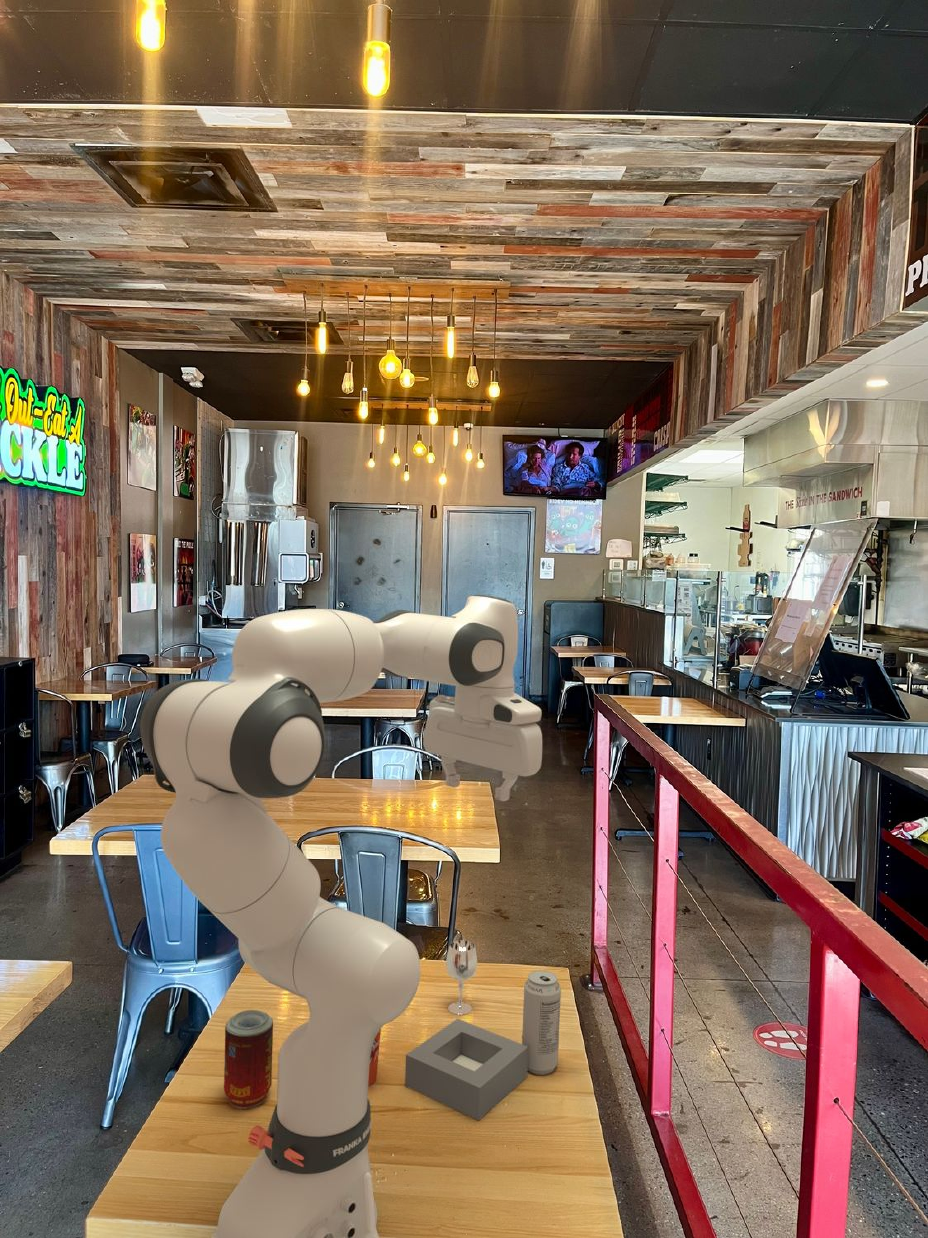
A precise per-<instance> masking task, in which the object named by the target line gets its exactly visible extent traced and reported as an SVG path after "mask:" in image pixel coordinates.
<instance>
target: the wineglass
mask: <svg viewBox="0 0 928 1238" xmlns="http://www.w3.org/2000/svg"><path fill="white" fill-rule="evenodd" d="M445 964H446V965H445V966H446V968H445V969H446V972H447V974H448V975H449V976H450V978H452V979H454V980H456V981H458V983H457V987H458V991H459V993H458V1001H457V1002H452V1003H450V1004H449V1005H448V1007H447V1010H448V1011H449V1012H450V1013H451V1014H453V1015H458V1016H459V1015H460V1016H461V1015H462V1016H463V1015H467V1014H470V1013H471V1012H473V1007H472V1005H470V1003H466V1002H463V999H462V998H463V997H462V995H463V989H464V981H467V980H470V979H471V978H473V976H474V975H475V974H476V971H477V968H478V957H477V951H476V945H475V943H473V942H471V941H469V940H463V939H458V940H454V941H451V942H450V944H449V946H448V949H447V954H446V961H445Z"/></svg>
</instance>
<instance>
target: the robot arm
mask: <svg viewBox="0 0 928 1238" xmlns="http://www.w3.org/2000/svg"><path fill="white" fill-rule="evenodd" d="M518 638H519V622H518V612H517V609H516V606H515V604H513V602H511V600H510V601H509V600H507V599H505V598H501V597H497V596H493V595H487V594H485V595H484V594H474V595H470V596H468V597H467V600H466V601H465V606H464V608H463V609H461V610H460V611H459V612H457V613H455V614H452V615H451V616H444V615H434V614H427V613H419V612H416V611H411V610H407V609H406V610H405V609H397V610H394V611H391V612H389V613H386V614H385V615H384V616H382V617H380V618H379V619H376V620H374V621H372V619H370V618H368V617H366V616H364V615H361V614H358V613H354V612H351V611H345V610H338V609H330V608H329V609H328V608H305V609H304V608H303V609H290V610H285V611H279V612H274V613H270V614H266V615H265V614H264V615H262V616H258V617H255V618H253V619H252V620H250V621H249V622H248V623H246V624H245V625H244V626H243V627H242V628H241V629H240V630H239V632H238V634H237V636H236V638H235V641H234V643H233V647H232V654H231V658H232V659H231V661H232V662H231V663H232V668H233V669H232V672H231V674H230V675H229V676H228V677H227V680H228V681H218V680H216V681H215V680H213V681H212V680H211V681H210V680H207V679H202V678H189V679H181V680H177V681H175V682H171V683H169V684H166V685H164V686H162V687H161V688H159V689H158V690H156V691H155V692H154V694H152V695H151V697H150V698H149V700H148V701H147V703H146V704H145V706H144V708H143V710H142V714H141V718H140V726H139V728H140V739H141V743H142V746H143V749H144V752H145V754H146V756H147V758H148V759H149V761H150V763H151V765H152V767H153V768H152V769H153V775H154V778H155V781H156V783H157V785H158V786H159V787H160V788H162V789H163V790H165V791H167V792H170V793H174V794H175V800H174V801H173V804H172V805H171V807H170V808H169V809H168V811H167V812H166V814H165V816H164V818H163V820H162V824H161V829H160V842H161V843H160V844H161V847H162V850H163V853H164V855H165V856H166V858H167V860H168V861H169V863H170V865H171V866H172V869H174V870H175V872H176V874H177V875H178V877H179V878H180V879H181V880H182V882H183V883H184V885H185V886H186V887H187V889H188V890H189V891H190V892H191V893H192V894H193V896H195V898H196V900H197V899H198V901H199V902H200V903H201V904H202V905H203V906H204V907H205V908H206V909H207V910H208V911H209V912H210V913H211V914H213V916H215V918H217V920H219V921H220V922H221V923H222V924H223V925H224V926H225V927H226V928H227V929H228V930H229V931H230V932H231V933H232V934H233V935H235V937H236V938H237V939H238V944H237V945H238V950H239V954H240V957H241V959H242V960H243V962H244V963H245V964H246V965H248V967H249V968H251V969H252V971H254V972H255V973H256V974H258V975H259V976H260V977H261V978H262V979H264V980H265V981H266V982H268V983H269V984H271V985H274V986H275V987H277V988H280V989H282V990H284V991H286V992H289V993H291V994H293V995H295V996H297V997H300V998H303V999H304V1000H306V1002H307V1005H308V1009H309V1018H308V1021H307V1022H304V1023H302V1024H301V1025H299V1026H297V1027H296V1028H295V1029H294V1030H292V1031H291V1032H290V1034H288V1036H287V1037H286V1039H284V1041H283V1043H282V1045H281V1047H280V1049H279V1052H278V1056H277V1057H278V1058H277V1089H276V1095H277V1096H276V1104H275V1105H274V1109H273V1113H272V1115H271V1119H270V1122H269V1125H268V1127H267V1128H268V1129H267V1130H265V1129H264V1128H263V1127H262V1126H261V1125H255V1126H253V1127H252V1128H251V1130H250V1132H249V1133H248V1137H247V1140H248V1143H249V1144H250V1145H251V1146H256V1147H257V1149H259V1150H261V1151H260V1152H259V1154H258V1155H257V1156H256V1158H255V1159H254V1161H253V1162H252V1164H251V1165H250V1167H249V1168H248V1170H247V1171H246V1172H245V1173H244V1175H243V1177H242V1178H241V1179H240V1181H239V1182H238V1183H237V1185H236V1187H235V1188H234V1190H232V1192H231V1194H230V1195H229V1197H228V1198H227V1199H226V1200H225V1202H224V1203H223V1205H222V1207H221V1209H220V1213H219V1217H218V1222H217V1227H216V1231H215V1232H214V1233H213V1234H212V1235H211V1236H210V1237H209V1238H380V1236H379V1232H378V1230H377V1223H378V1207H377V1203H376V1201H375V1197H374V1190H373V1177H372V1169H371V1162H370V1156H369V1154H370V1153H369V1146H368V1145H369V1140H370V1138H371V1129H372V1121H373V1120H372V1117H371V1115H372V1114H371V1112H372V1111H371V1110H372V1109H371V1108H372V1107H371V1103H370V1102H371V1101H370V1100H369V1087H368V1081H369V1066H370V1055H371V1050H372V1046H373V1042H374V1040H375V1037H376V1035H377V1033H378V1032H379V1030H380V1029H381V1030H382V1028H383V1027H384V1026H385V1025H387V1024H388V1023H390V1022H392V1021H394V1020H396V1019H397V1018H398V1017H401V1015H402V1014H403V1013H404V1012H405V1011H406V1010H407V1009H408V1007H409V1006H410V1005H411V1004H412V1001H413V1000H414V998H415V995H416V994H417V992H418V987H419V985H420V979H421V961H420V956H419V951H418V950H417V947H416V946H415V944H414V943H413V942H412V941H411V940H409V939H408V938H406V937H405V936H404V935H403V934H401V933H399V931H397V930H395V929H393V928H392V927H390V926H389V925H387V924H386V923H384V922H382V921H380V920H379V921H378V920H377V919H372V918H370V917H367V916H365V915H361V914H359V913H356V912H353V911H351V910H347V909H345V908H342V907H340V906H338V905H335V904H334V903H332V902H330V901H327V900H325V898H322V897H321V896H320V893H321V878H320V874H319V872H318V870H317V868H316V867H315V865H314V864H313V863H312V862H311V861H310V860H309V859H308V858H307V856H306V855H305V854H304V853H303V851H302V850H301V849H300V848H299V847H298V846H297V845H296V843H295V842H294V841H293V840H292V839H291V838H290V837H289V835H288V834H287V833H286V831H284V830H283V828H281V827H280V825H279V824H278V823H277V822H276V821H275V820H274V819H273V818H272V817H271V816H270V815H269V814H267V813H268V810H267V809H266V807H265V804H264V801H263V799H281V798H287V797H291V796H294V795H297V794H299V793H300V792H302V791H304V789H305V788H307V787H308V786H309V785H310V783H311V782H312V781H313V779H315V776H316V774H317V772H318V771H319V769H320V766H321V764H322V761H323V758H324V753H325V741H326V739H325V737H326V736H325V725H324V719H323V710H322V706H321V704H324V703H331V702H332V703H334V702H340V701H346V700H349V699H352V698H355V697H358V696H361V695H364V694H366V693H367V692H369V691H370V690H372V688H373V687H374V686H375V684H376V683H377V682H378V679H379V678H380V675H381V673H382V672H383V673H384V674H385V675H387V676H391V677H397V678H403V679H404V678H405V679H414V680H419V681H426V682H432V683H436V684H441V685H448V686H452V687H453V686H455V691H454V692H455V693H454V694H455V695H454V696H447V695H445V694H438V695H437V696H435V697H433V699H432V700H430V702H429V706H428V707H429V709H428V715H427V719H426V723H425V727H424V735H423V742H422V745H423V747H424V750H425V751H426V752H427V753H429V754H433V755H437V756H440V758H441V759H440V764H441V767H442V769H443V772H444V774H445V786H447V787H451V788H457V787H459V786H460V783H461V782H460V780H461V774H458V773H457V770H456V768H455V764H454V763H457V761H459V762H460V761H461V762H465V763H469V764H472V765H476V766H479V767H480V766H481V767H485V768H488V769H492V770H497V771H499V772H502V774H501V775H502V776H501V778H502V779H504V781H503V782H502V784H501V786H499V787H495V790H494V793H495V794H494V799H495V800H497V801H501V802H506V801H509V800H510V793H511V789H512V787H513V786H514V784H515V783H516V781H517V780H518V777H519V776H520V777H531V776H534V775H535V774H537V772H539V770H540V769H541V768H542V761H543V733H542V729H541V727H540V726H539V725H538V724H537V722H539V721H541V719H542V715H543V714H542V709H541V708H540V707H539V706H538V705H536V704H534V703H532V702H530V701H528V699H526V698H524V697H522V696H520V694H518V693H516V692H515V679H514V666H515V663H516V660H517V657H518V646H519V645H518V643H519V639H518ZM164 782H165V783H164ZM166 783H167V784H166Z"/></svg>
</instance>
